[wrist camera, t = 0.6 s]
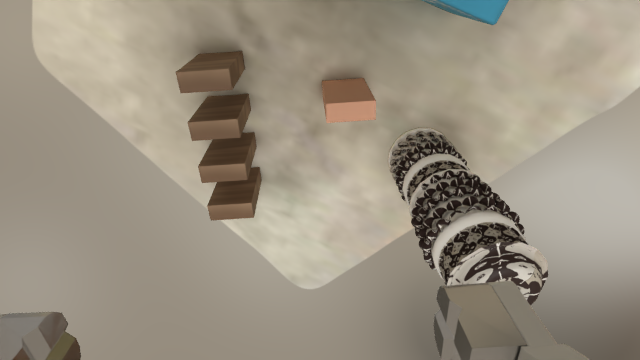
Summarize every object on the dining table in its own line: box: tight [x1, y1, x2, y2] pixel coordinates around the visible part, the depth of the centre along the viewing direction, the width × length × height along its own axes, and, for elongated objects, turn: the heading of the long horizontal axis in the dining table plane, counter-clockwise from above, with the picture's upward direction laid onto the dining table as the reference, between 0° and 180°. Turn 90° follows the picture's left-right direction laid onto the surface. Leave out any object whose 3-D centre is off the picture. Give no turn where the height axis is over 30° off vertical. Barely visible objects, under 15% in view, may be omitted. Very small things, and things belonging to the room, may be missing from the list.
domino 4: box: [208, 167, 261, 220], centre depth 48 cm, size 2×5×9 cm, turn 93°
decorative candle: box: [388, 128, 548, 305], centre depth 40 cm, size 9×9×25 cm
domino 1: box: [176, 51, 245, 93], centre depth 40 cm, size 2×5×9 cm, turn 93°
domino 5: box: [322, 78, 376, 123], centre depth 42 cm, size 2×5×9 cm, turn 93°
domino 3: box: [198, 132, 256, 183], centre depth 45 cm, size 2×5×9 cm, turn 93°
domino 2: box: [188, 94, 251, 141], centre depth 43 cm, size 2×5×9 cm, turn 93°
